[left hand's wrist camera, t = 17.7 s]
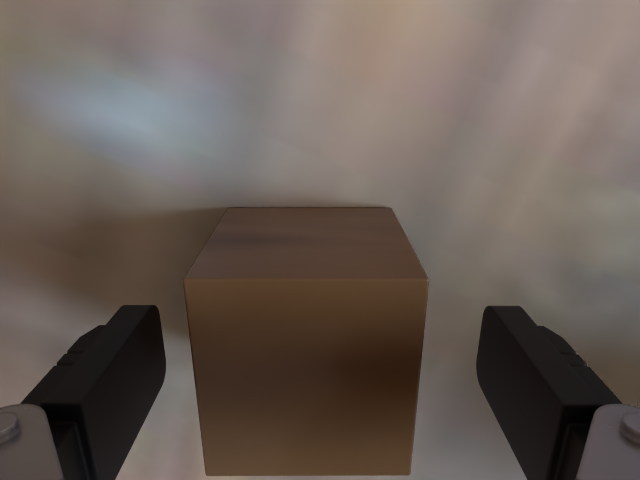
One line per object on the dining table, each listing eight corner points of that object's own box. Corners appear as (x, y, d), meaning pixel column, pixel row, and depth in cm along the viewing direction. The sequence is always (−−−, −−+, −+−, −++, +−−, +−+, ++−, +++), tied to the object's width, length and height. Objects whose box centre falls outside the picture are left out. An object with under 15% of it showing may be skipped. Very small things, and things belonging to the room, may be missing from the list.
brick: (383, 355, 15) (410, 476, 10) (238, 355, 15) (205, 476, 10) (392, 207, 13) (429, 278, 9) (227, 207, 13) (181, 279, 9)
